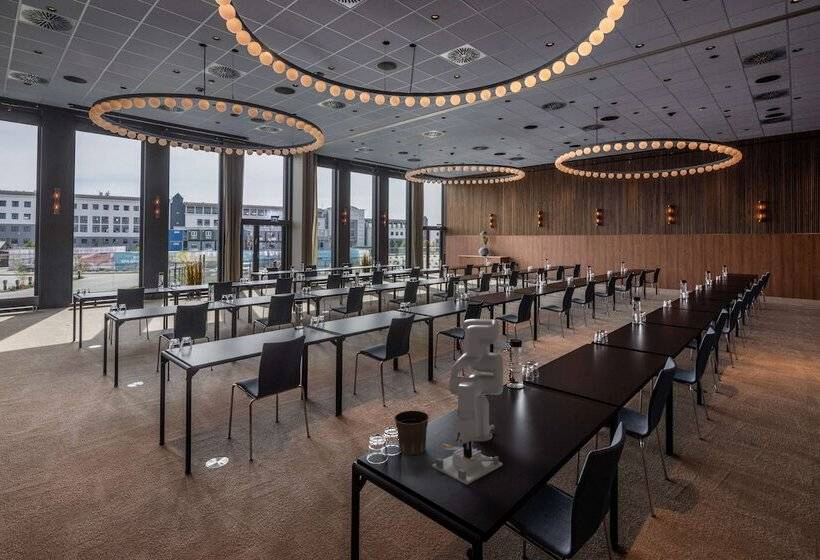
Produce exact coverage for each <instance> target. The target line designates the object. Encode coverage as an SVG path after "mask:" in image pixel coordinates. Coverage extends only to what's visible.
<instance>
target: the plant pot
mask: <svg viewBox="0 0 820 560" xmlns="http://www.w3.org/2000/svg"><path fill="white" fill-rule="evenodd" d="M429 419H430V416H429V414H428V413H426V412H424V411H421V410H405V411H401V412H399V413H397V414H395V415H394V422H395V426H396V430H398V431H397V436H398V435H399V439H398V444H399V443H400V447H399V449H400V448H401V452H400V453H401V454H403V455H405V456H413V455H414V456H418V455H422V454H423V453H425V452H426V450H427V449H426V448H427V447H426V445H427V431H428V430H427V429H428V424H429Z"/></svg>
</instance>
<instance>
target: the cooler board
mask: <svg viewBox="0 0 820 560" xmlns="http://www.w3.org/2000/svg"><path fill="white" fill-rule="evenodd" d="M463 456H464V450H463V448H462V449H459V450H454V451H453V452H452V455H449V456H448V457H446V458H443V459H442V458H440V457H437V458H435V463H433V464H431V468H434V469H435V470H437V471H438V472H441V473H443V474H445V475H446V476H449V477H451V478H452V479H455V480H456V481H458V482H460V483H462V484H465V485H469V484H471V483H473V482H475V481H476V480H478V479H480V478H482V477H484V476H486V475H487V474H489V473H491V472H493V471H495V470H496V469H498V468H500V467H502V466H503V462H501V461H499V456H497V455H496V456H492V457H493V459H494V461H484V462H468V463H467V462H465V461H463ZM472 457H473V458H481V457H488V456H487V455H484V454H482V450H481V449H480V450H478V448H474V446H473V447H472Z"/></svg>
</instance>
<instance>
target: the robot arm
mask: <svg viewBox="0 0 820 560" xmlns="http://www.w3.org/2000/svg"><path fill="white" fill-rule="evenodd" d="M500 327H501V326H500V323H499V321H498V320H497V319H491V318H489V319H488V318H487V319H486V318H469V319H465V320H464V321H463V323H462V328H463V331H464V340H463V347H462V355H461V356H460V357H459V358H458V359H456V361H455V362H454V363H453V365H452V367H451V370H450V374H449V382H448V387H449V388H448V389H449V392H450V393H451V394H452V395H453V396H454V395H456V396H457V417H456V419H455V428H454V440H455V441H456V442H457V447H463V450H464V457H466V458H468V459H469V458H472V447H473V448H474V443H475V442H479V443H481V442H488V441H491V439H492V438H493V434H492V432H491V430H493V429H495V425H494V424H491V425H490V411H489V409H490V404H489V399H488V398H487V396H486V395H492V396H493V395H495V396H498V395H501V394H502V393H503V390H504V363H503V357H502V354H500V353H498V352H488V345H493V344H495V343H497V341H498V338H499V334H500V330H501V329H500ZM469 366H470V369H471V371H473V372H479V373H473V374H470V375H469V376H467V377H465V376H458V374H459V372H461V370H462V369H464V368H467V367H469ZM485 373H486V374H485ZM487 373H492V374H487Z"/></svg>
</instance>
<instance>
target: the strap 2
mask: <svg viewBox="0 0 820 560" xmlns="http://www.w3.org/2000/svg"><path fill="white" fill-rule="evenodd" d="M493 457H494V456H487V457H481V458H473V457H472V458H469V459H468V458H466V457H464V456H463V461H465V462H467V463H468V462H484V461H494V459H493Z"/></svg>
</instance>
